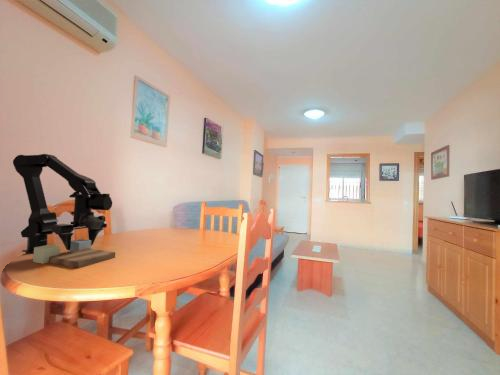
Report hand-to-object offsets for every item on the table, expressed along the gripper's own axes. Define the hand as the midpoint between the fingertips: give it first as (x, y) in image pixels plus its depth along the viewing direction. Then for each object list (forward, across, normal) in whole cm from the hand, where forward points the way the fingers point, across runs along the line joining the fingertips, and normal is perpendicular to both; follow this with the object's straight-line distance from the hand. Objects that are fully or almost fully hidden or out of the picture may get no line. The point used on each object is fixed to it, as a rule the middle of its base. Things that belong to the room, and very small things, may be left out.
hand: (80, 247), depth 93 cm
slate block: (+2, 0, 0) cm, 2 cm away
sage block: (+2, -12, 0) cm, 12 cm away
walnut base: (+2, -6, -10) cm, 12 cm away
